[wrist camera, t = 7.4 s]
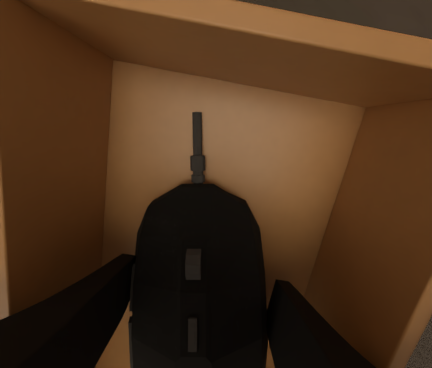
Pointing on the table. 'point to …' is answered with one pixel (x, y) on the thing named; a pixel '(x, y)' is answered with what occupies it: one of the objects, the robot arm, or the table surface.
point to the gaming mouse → (198, 279)
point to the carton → (220, 151)
